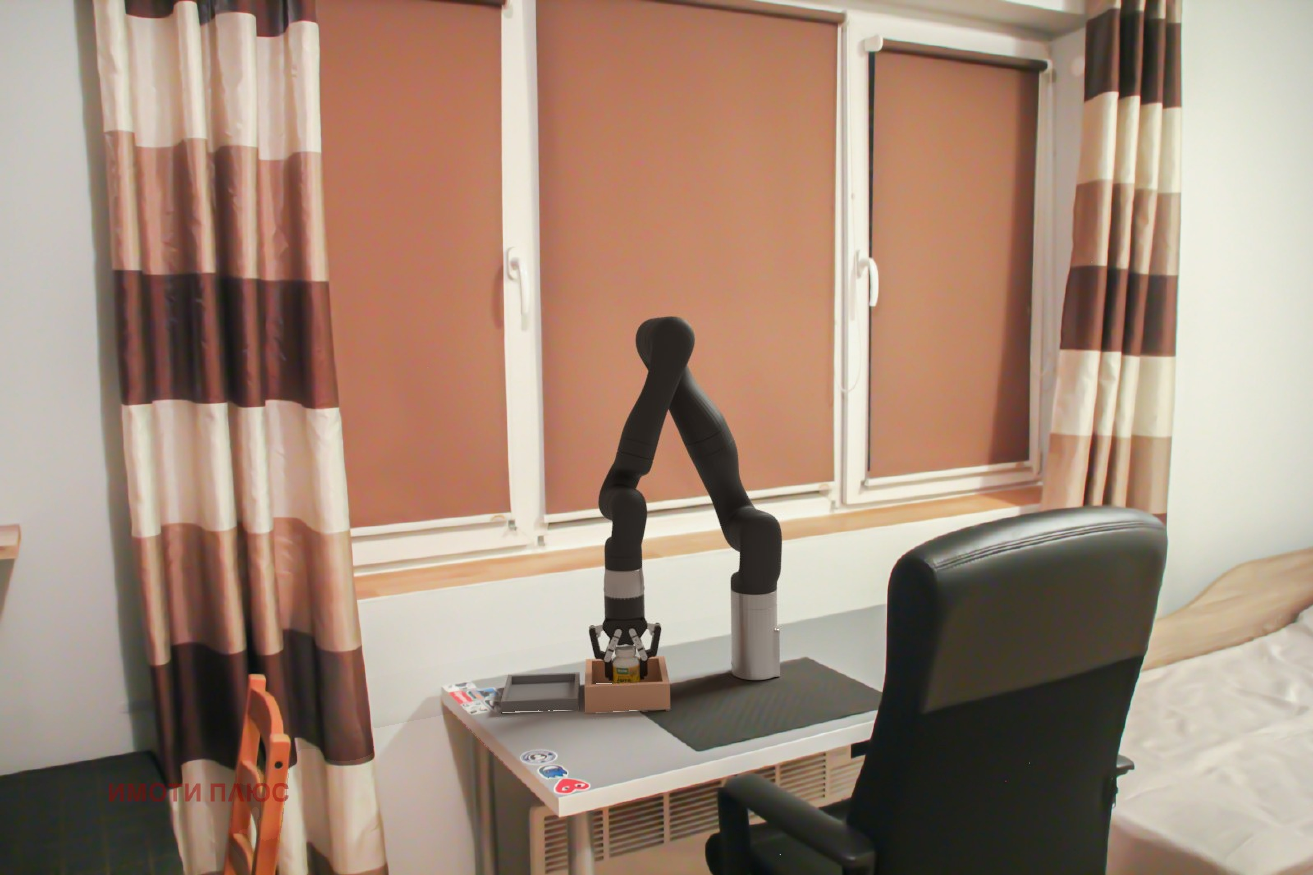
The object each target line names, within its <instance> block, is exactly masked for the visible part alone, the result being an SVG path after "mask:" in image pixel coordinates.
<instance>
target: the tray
mask: <svg viewBox="0 0 1313 875" xmlns="http://www.w3.org/2000/svg"><path fill="white" fill-rule="evenodd" d="M580 673H581V672H579V671H573V672H554V673H553V672H550V673H547V672H546V673H528V674H527V673H526V674H508V675H507V677H506V681H505V685H504V688H503V692H502V696H501V700H500V713H501V712H515V711H538V710H539V711H548V710H550V711H553V710H578V711H579V709H578V707H580V706H579V705H580V692H579V690H580V689H581V674H580ZM580 691H581V690H580Z"/></svg>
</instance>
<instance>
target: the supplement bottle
mask: <svg viewBox="0 0 1313 875" xmlns="http://www.w3.org/2000/svg"><path fill="white" fill-rule="evenodd" d="M614 655H615V657H613V658H614V659H613V660H612V684H615V683H640V682H641V679H640V660H639V658H638V656H636V655H637V649H636V647H635V644H634V645H626V644H625V645H622V646H617V645H616V648H615V651H614Z"/></svg>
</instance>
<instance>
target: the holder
mask: <svg viewBox="0 0 1313 875" xmlns="http://www.w3.org/2000/svg"><path fill="white" fill-rule="evenodd" d="M637 657H638V656H637ZM614 658H615V657H611V659H612V660H613V659H614ZM638 658H639V660H640V656H639V657H638ZM665 658H666V657H665V656H664V655H661V656H660V655H658V656H657V655H656V656H655V657H651V658H649V659H648V674H647V676H644V680H641V682H640V683H615V684H596V683H612V681H609V678H606V677H605V663H604V661H603V660H601V659H596V658H586V659H585V669H584V670H585V671H584V672H585V673H584V709H585V710H584V711H585V713H595V714H597V713H596V712H613V711H629V710H646V709H670V710H671V683H670V677H669V674H668V668H667V662H666V659H665ZM585 713H584V714H585Z"/></svg>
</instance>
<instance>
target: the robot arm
mask: <svg viewBox="0 0 1313 875" xmlns="http://www.w3.org/2000/svg"><path fill="white" fill-rule="evenodd" d="M695 340H696V338H695V332H694V330H693V327H692V325H691V324H690V323H689V322H688V321H687V320H685V319H684V318H682V317H679V316H675V315H674V316H672V315H671V316H670V315H669V316H663V317H662V316H661V317H654V318H653V317H652V318H649V319H646V320H645V321H643V322H641V324H640V325H639V327H638V328H637V330H636V333H635V348H636V351H637V354H638V356H639V358H640V360H641V361H642V363H643V365H644V366H645V368H646V369H647V371H648V372H647V375H646V377H645V382H644V384H643V386H642V389H641V391H640V394H639V396H638V398H637V399H636V401H635V403H634V406H633V407H632V409H631V410H630V413H629V414H628V417H627V419H626V420H625V422H624V426H623V428H622V431H621V435H620V438H619V443H618V446H617V451H616V452H615V453H616V454H615V457H614V458H615V459H614V461H613V463H612V465H611V466H610V468H609V470H608V472H607V474H606V477H605V479H604V481H603V483H602V486H601V487H600V491H599V494H598V502H597V503H598V508H599V512H600V514H601V515H602V517H604V518H605V519H607V520H609V521H611V524H612V525H611V526H612V527H611V535H610V536H609V537H607V539H606V540H605V543H604V577H603V597H604V600H603V602H604V604H603V605H604V608H603V609H604V619H603V622H602V624H599V625H590V626H589V627H588V635H589V639H590V644H591V647H592V652H593V657H594V659H601V660H603V661H604V663H605V677H606V678H609V681H612V659H611V658H613V654H614V653H615V648H616V646H622V645H625V644H626V645H634V646H635V647H636V652H637V653H638V655H639V657H640V679H641V680H644V676H647V674H648V659H649V658H651V657H655V656H657V655H658V650H659V645H660V639H661V634H662V626H661V623H659V622H655V623H650V622H648V620H646V614H645V613H646V612H645V611H646V610H645V578H644V577H645V576H644V571H643V549H642V548H643V547H642V546H643V540H644V536H645V531H646V525H647V520H648V507H647V506H648V504H647V501H646V498H645V496H644V495H643V493H642V492H641V491H639V490H638V489H637V487H638V485H639V483H640V480H641V478H643V477H644V476H646V475H649V473H650V471H651V469H652V467H653V463H654V460H655V455H656V452H657V449H658V444H659V441H660V437H661V434H662V430H663V427H664V423H665V421H666V418H667V413H668V411H669V414H670V415H671V418H672V420H673V422H674V425H675V427H676V428H677V431H678V433H679V435H680V439H681V440H682V443H683V445H684V447H685V449H686V451H687V454H688V456H689V458H690V459H691V460H690V461H692V463H693V465H694V467H695V469H696V472H697V474H698V476H699V478H700V480H701V481H702V483H703V485H704V488H705V490H706V492H707V493H708V495H709V498H710V500H711V503H712V505H713V508H714V511H715V514H716V517H717V520H718V523H719V526H720V529H721V531H722V532H721V533H722V535H723V536H724V539H725V542H726V543H727V544H728V545H729V546H730V548H732V549H733V550H735V551H737V552H739V562H738V563H739V564H738V565H739V566H738V571H736V572H734V573H732V575H731V576H730V639H731V640H730V643H731V644H730V647H731V648H730V649H731V651H730V652H731V653H730V654H731V662H730V663H731V674H732V675H733V676H734V677H736V678H739V679H742V680H749V681H763V680H768V679H769V680H770V679H772V678H775V677H781V658H780V657H781V653H780V652H781V650H780V648H781V647H780V646H781V645H780V642H781V641H780V640H781V639H780V628H779V627H778V580H779V578H780V576H781V572H782V552H783V535H782V532H783V531H782V527H781V525H780V523H779V521H778V519H777V518H776V517H775V515H773V514H771V513H769V512H766V511H764V510H761V509H757V508H756V507H755V506H754V504H753V502H752V501H751V499H750V497H749V495H748V493H747V492H746V489H745V487H744V485H743V482H742V480H741V475H740V469H739V468H740V465H739V453H738V452H739V451H738V447H737V443H736V440H735V438H734V436H733V433H732V431H731V429H730V427H729V425H728V423H727V421H726V418H725V416H724V414H723V413H722V412H721V411H720V409H719V408H718V406H717V405H716V403H714V401H713V399H711V398H710V396H709V395H708V394H707V392H705V390H703V388H702V387H701V386H700V385H699V384H698V382H697V381H696V379H695V377H694V376H693V374H692V372H691V370H690V368H689V365H688V363H689V361H690V360H691V359H690V358H691V357H692V354H693V352H694V348H695V344H696V342H695ZM647 630H648V631H649V635H650V636H651V642H650V647H649V649H646V648H645V646H644V643H643V641H642V636H643V635H644V633H645V632H646V631H647ZM602 632H604V633H605V635H606V636H607V637H608V639H609V640H608V643H607V645H606V649H605V650H601V647H600V642H599V638H600V637H601V634H602Z"/></svg>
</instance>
